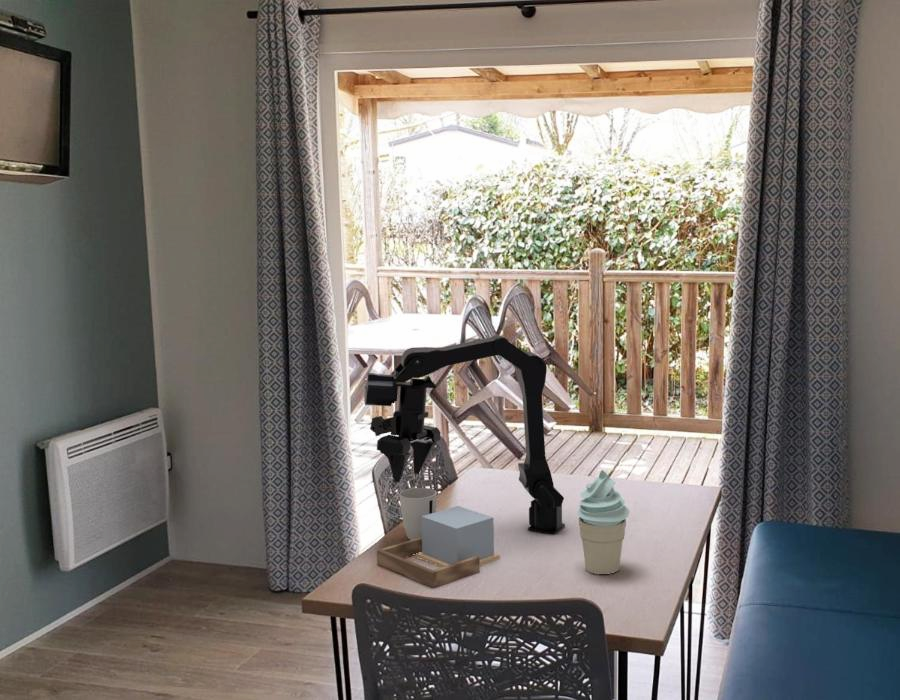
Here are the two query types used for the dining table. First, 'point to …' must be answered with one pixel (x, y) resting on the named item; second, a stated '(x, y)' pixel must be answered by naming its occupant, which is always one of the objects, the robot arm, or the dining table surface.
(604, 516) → the ice cream cone
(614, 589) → the dining table surface
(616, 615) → the dining table surface
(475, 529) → the tea caddy
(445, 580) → the bay
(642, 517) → the dining table surface
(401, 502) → the cup
